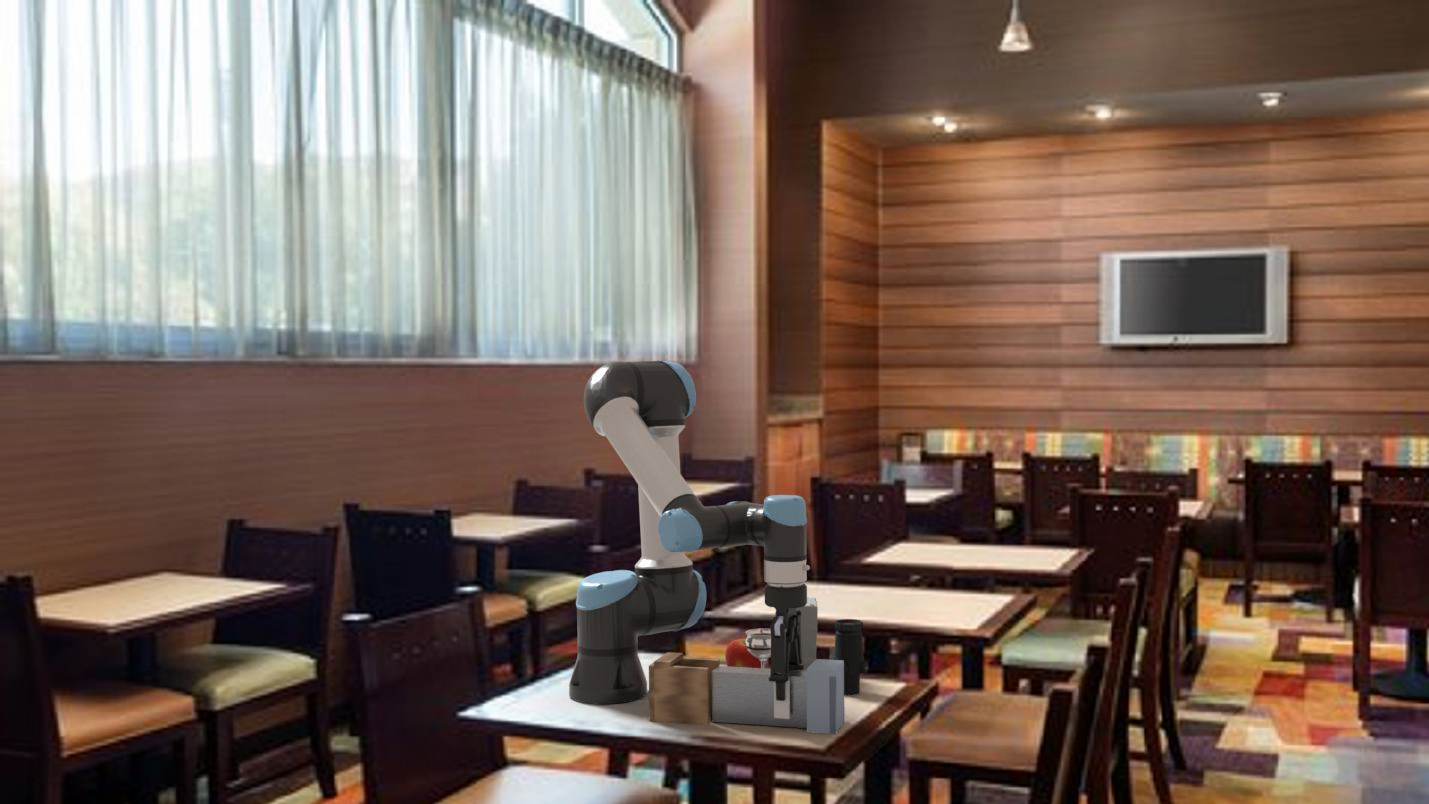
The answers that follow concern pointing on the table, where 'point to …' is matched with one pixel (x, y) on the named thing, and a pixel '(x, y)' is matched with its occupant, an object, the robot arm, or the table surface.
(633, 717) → the table surface
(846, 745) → the table surface
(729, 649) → the apple
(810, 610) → the skincare box
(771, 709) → the grey rectangular box
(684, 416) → the robot arm
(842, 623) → the scope
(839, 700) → the blue-grey upright rectangular block
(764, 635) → the wineglass
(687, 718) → the brown wooden box
